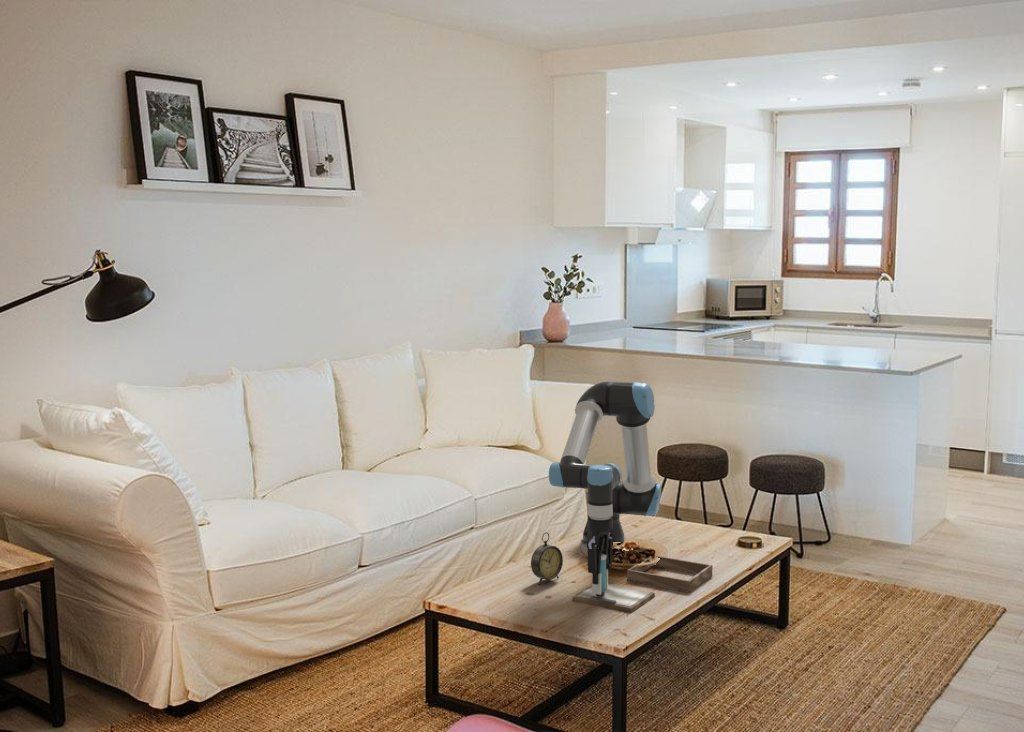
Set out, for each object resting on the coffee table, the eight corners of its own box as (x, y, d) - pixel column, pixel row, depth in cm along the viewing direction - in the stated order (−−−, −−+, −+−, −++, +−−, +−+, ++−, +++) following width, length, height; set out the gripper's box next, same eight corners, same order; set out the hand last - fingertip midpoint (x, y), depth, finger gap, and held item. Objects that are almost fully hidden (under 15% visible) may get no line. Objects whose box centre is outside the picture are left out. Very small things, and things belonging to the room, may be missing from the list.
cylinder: (597, 591, 319) (597, 552, 318) (608, 594, 317) (608, 554, 316) (591, 595, 316) (591, 555, 315) (602, 597, 314) (602, 557, 313)
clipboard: (597, 585, 331) (597, 579, 331) (654, 596, 320) (654, 590, 320) (572, 600, 318) (572, 594, 318) (631, 612, 307) (631, 606, 307)
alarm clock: (539, 587, 330) (539, 537, 328) (528, 583, 334) (527, 534, 332) (564, 579, 337) (563, 530, 335) (552, 575, 341) (551, 527, 339)
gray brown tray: (651, 564, 350) (651, 554, 350) (712, 575, 339) (712, 565, 338) (627, 580, 335) (627, 570, 335) (689, 592, 323) (689, 581, 323)
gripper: (602, 508, 323) (602, 581, 326) (575, 521, 309) (575, 597, 312) (623, 512, 318) (623, 585, 321) (597, 525, 305) (598, 602, 308)
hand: (600, 591), depth 317 cm, fingers closed on cylinder, 3 cm apart
